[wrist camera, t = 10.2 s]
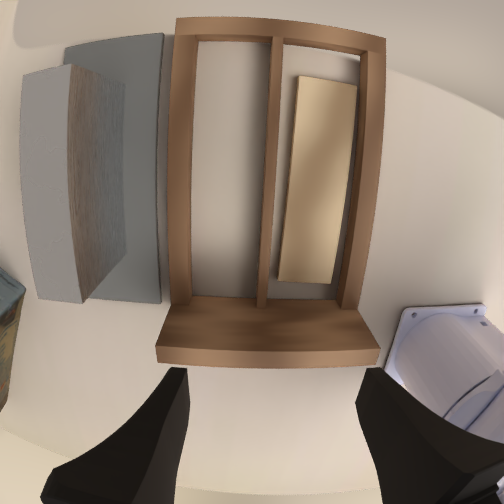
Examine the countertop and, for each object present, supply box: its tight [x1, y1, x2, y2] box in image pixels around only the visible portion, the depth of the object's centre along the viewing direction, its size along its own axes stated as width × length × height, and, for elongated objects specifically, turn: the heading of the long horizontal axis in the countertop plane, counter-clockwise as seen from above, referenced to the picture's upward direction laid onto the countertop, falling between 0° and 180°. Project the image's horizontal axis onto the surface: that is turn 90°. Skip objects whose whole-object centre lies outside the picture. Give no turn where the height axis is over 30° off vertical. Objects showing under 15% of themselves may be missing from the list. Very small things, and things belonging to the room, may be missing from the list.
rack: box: [155, 17, 386, 369], centre depth 16 cm, size 12×19×6 cm, turn 177°
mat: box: [64, 33, 164, 304], centre depth 19 cm, size 7×18×1 cm, turn 177°
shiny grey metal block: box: [20, 64, 127, 304], centre depth 15 cm, size 3×11×7 cm, turn 177°
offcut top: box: [277, 76, 357, 284], centre depth 19 cm, size 4×13×1 cm, turn 175°
